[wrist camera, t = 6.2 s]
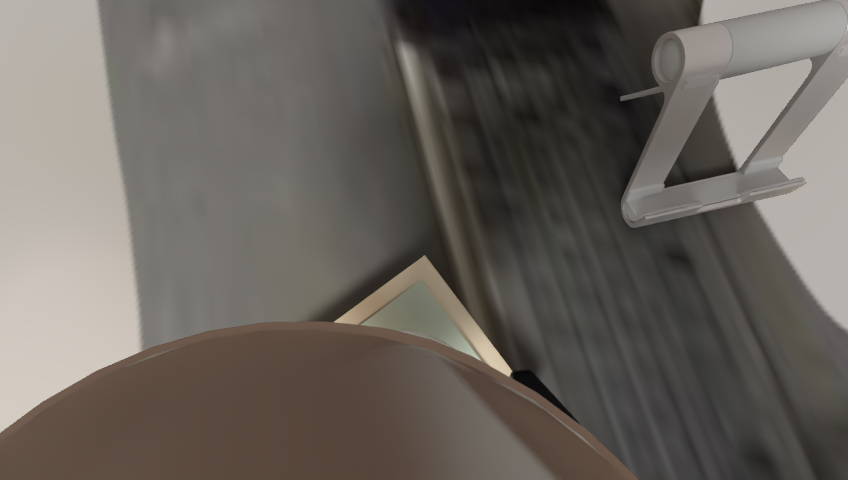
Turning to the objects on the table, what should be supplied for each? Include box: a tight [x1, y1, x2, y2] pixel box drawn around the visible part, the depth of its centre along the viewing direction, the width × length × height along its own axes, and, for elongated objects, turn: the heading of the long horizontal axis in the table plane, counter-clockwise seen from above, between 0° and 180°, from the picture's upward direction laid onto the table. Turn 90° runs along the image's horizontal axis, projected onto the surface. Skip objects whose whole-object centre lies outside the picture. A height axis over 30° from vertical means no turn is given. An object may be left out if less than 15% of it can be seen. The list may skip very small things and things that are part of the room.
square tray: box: [335, 255, 512, 377], centre depth 20 cm, size 9×9×2 cm
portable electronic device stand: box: [620, 0, 848, 228], centre depth 20 cm, size 9×8×8 cm
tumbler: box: [0, 321, 638, 480], centre depth 8 cm, size 6×6×13 cm
